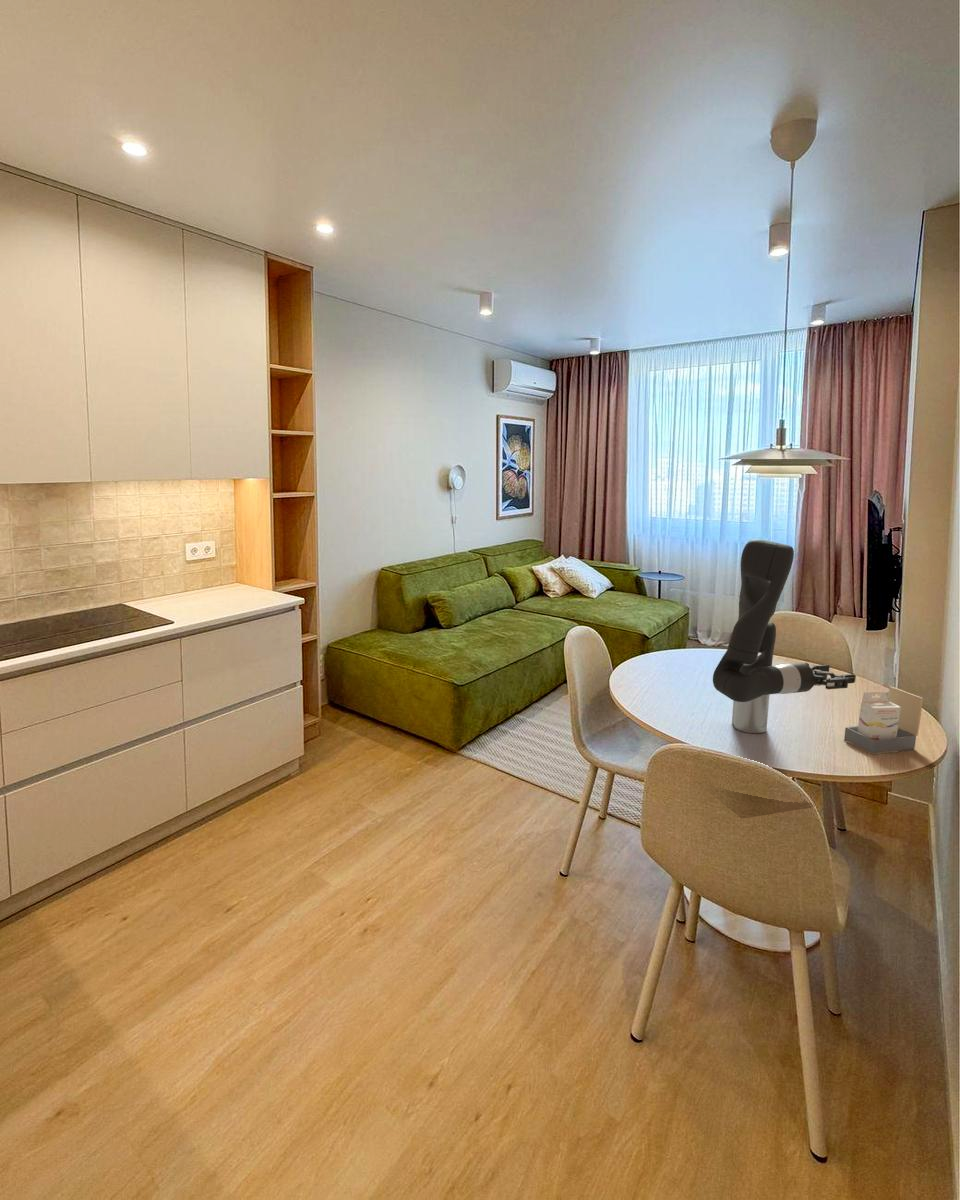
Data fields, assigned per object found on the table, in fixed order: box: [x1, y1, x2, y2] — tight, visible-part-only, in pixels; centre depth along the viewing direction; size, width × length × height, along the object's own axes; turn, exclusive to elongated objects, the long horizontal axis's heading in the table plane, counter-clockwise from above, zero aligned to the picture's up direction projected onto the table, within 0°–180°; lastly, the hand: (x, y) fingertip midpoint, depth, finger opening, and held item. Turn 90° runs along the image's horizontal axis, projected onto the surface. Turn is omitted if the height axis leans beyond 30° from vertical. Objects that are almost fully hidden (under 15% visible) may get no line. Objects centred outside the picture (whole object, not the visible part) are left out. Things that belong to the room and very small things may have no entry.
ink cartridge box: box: [857, 690, 901, 740], centre depth 175 cm, size 9×5×15 cm, turn 96°
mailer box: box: [843, 686, 924, 756], centre depth 176 cm, size 10×15×15 cm
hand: (840, 673), depth 164 cm, fingers open, 8 cm apart
